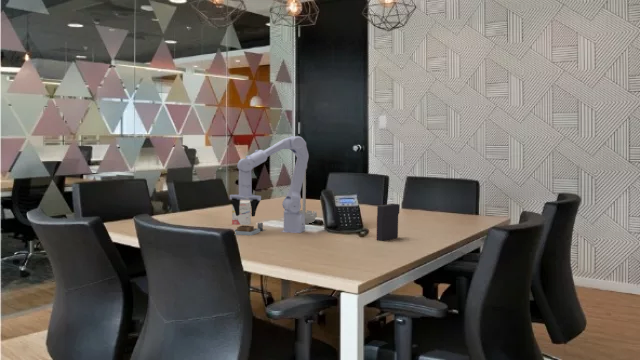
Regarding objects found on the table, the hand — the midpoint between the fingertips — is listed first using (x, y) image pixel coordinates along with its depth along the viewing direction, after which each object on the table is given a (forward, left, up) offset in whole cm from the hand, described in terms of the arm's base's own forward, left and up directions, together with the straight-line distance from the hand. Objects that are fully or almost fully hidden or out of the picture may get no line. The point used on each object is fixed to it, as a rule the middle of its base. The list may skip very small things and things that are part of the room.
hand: (245, 215), depth 251 cm
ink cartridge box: (+13, -23, -9) cm, 28 cm away
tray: (0, -1, -8) cm, 8 cm away
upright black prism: (-62, -11, -9) cm, 64 cm away
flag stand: (-13, -42, -9) cm, 45 cm away
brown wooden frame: (0, 0, -8) cm, 8 cm away
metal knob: (-3, -9, -8) cm, 13 cm away
